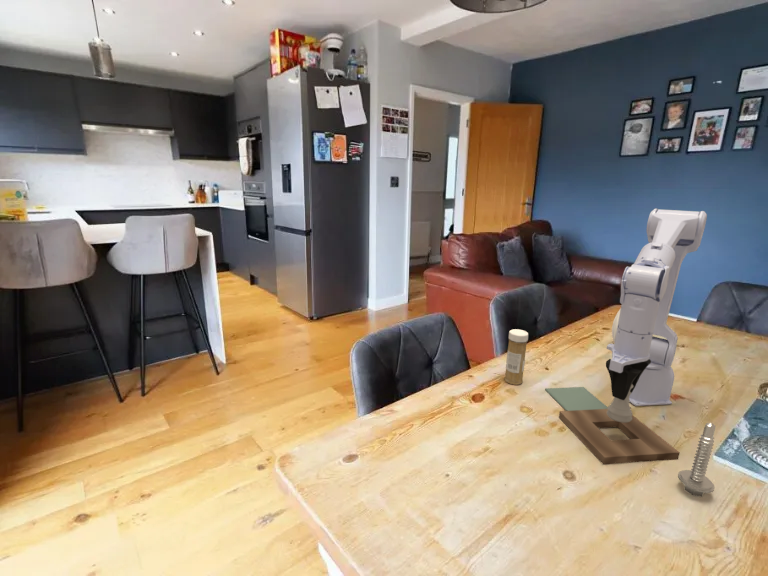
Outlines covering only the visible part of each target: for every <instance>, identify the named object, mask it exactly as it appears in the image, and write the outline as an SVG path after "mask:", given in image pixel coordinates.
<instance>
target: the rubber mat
mask: <svg viewBox="0 0 768 576" xmlns="http://www.w3.org/2000/svg"><path fill="white" fill-rule="evenodd" d="M544 390H545V391H546V393H548V394H549V395H550V397H552V399H554V400H555V401H556V403H557V404H558V405H559V406H561V407H562V408H563V409H564V411H573V410H593V409H608V406H607V405H606V404H605V403H603V402H602V401H601V400H600V399H599V398H598V397H596V396H595V395H594V394H593V393H591V392H590V391H589V390H588V389H587V388H586V387H584V386H575V387H574V386H571V387H570V386H569V387H551V388H545V389H544Z"/></svg>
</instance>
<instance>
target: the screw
mask: <svg viewBox="0 0 768 576" xmlns="http://www.w3.org/2000/svg"><path fill="white" fill-rule="evenodd" d="M715 431H716V425H715V424H714V423H712V422H707V423H705V425H704V428H703V431H702V434H700V437H699V438H698V439H699V440H698V443H697V447H696V450H695V452H696V453H695V454H694V455H695V456H694V459H693V462H692V466H691V467H692V468H691V470H690V469H684V470H681V471H679V472H678V473H677V478H678V480H679V481H680V482H681V484H683V485H684V488H683V490H684V491H685V492H687V493H688V494H690V495H691V496H694V497H701V498H703V496H704V494H711V493H713V492H715V488H716V487H715V484H714V483H713V481H712V480H711V479H709V477H707V476H706V475H707V474H706V473H707V471H708V465H709V462H710V459H711V456H712V455H711V454H712V452H713V446H714V443H715V437H714V435H715Z"/></svg>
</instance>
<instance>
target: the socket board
mask: <svg viewBox="0 0 768 576" xmlns="http://www.w3.org/2000/svg"><path fill="white" fill-rule="evenodd" d="M607 411H608V409H593V410H573V411H566V410H560V411H559V413H558V418H559V419H560V420H561V421H562V422H563V424H565V425H566V426H567V428H568V429H569V430H570V431H571V432H572V433H573V434H574V435H575V436H576V437H577V438H578V440H580V441H581V442H582V443H583V445H584V446H585V447H586V448H587V449H588V450H589V451H590V453H592V454H593V455H594V457H596V459H598V461H599V462H600V463H601V464H602V465H615V464H618V465H619V464H629V463H630V464H631V463H644V462H647V463H648V462H658V461H677V460H679V457H680V451H678V450H677V449H676V447H673V445H671V444H670V443H668V441H666V440H665V439H663V438H662V437H661V436H660V435H658V434H657V433H656V432H655V431H653V430H652V429H651V428H649V427H648V426H647V425H645V423H643V422H642V421H641V420H640V419H638V418H637V417H635V416H634V414H633V415H632V416H631V417H632V420H631V421H630V422H627V423H621V422H617V421H614V420H612V419H611V418H609V416H608V415H607ZM604 428H605V429H607V428H618V429H619V430H620V431H622V433H624V434H625V435H626V436H627V437H628V439H613V440H612V439H610V438H609V437H608V436H607V435H606V434H605V433H604V432H603V431H602V430H601V429H604Z"/></svg>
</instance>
